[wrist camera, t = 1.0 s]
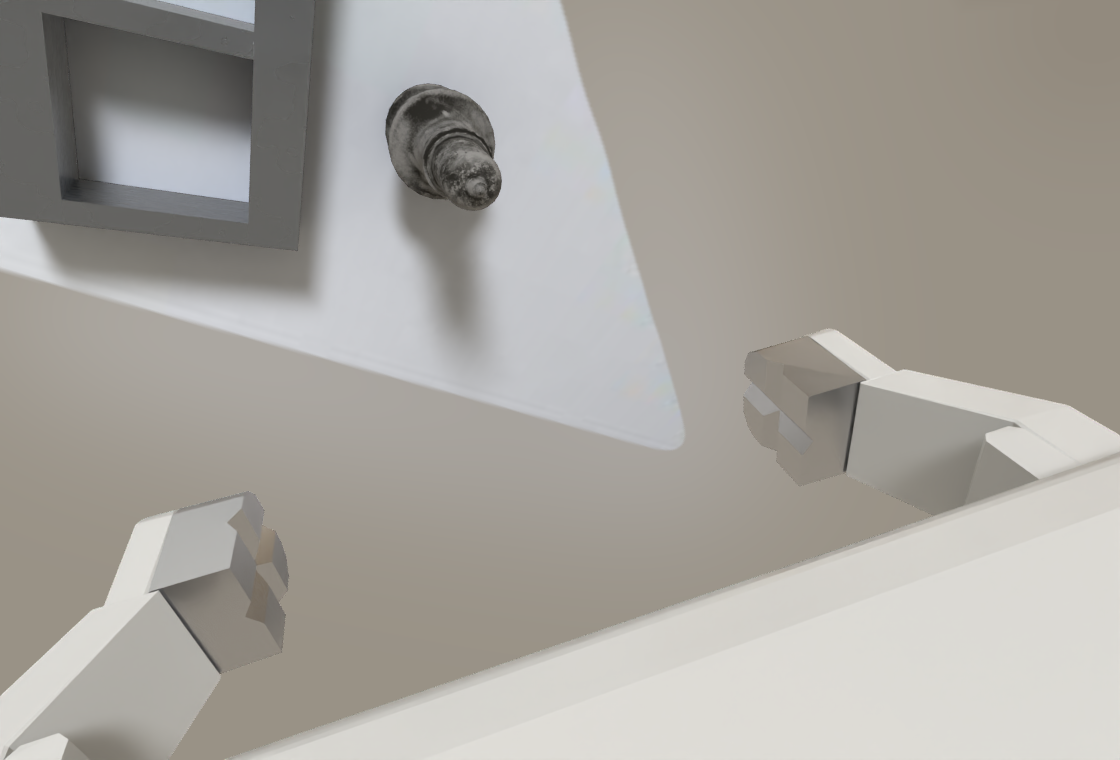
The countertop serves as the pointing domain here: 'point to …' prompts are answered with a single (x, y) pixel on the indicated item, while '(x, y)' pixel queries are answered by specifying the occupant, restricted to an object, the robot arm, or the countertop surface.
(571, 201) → the countertop surface
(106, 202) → the grey rectangular frame piece
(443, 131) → the grey stone finial
